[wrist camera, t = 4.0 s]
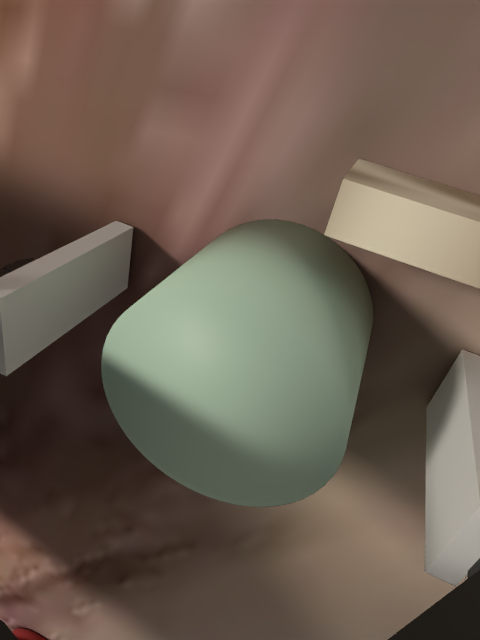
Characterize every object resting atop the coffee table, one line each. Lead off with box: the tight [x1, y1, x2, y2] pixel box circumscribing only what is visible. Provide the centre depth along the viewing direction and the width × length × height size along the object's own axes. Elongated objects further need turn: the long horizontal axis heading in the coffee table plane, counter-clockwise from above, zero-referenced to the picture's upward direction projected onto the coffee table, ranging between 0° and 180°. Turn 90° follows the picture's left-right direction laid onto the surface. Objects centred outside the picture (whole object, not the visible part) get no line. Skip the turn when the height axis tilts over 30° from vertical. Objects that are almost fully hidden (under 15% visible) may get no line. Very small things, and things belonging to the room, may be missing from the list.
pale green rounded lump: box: [101, 220, 373, 507], centre depth 15 cm, size 7×7×6 cm
